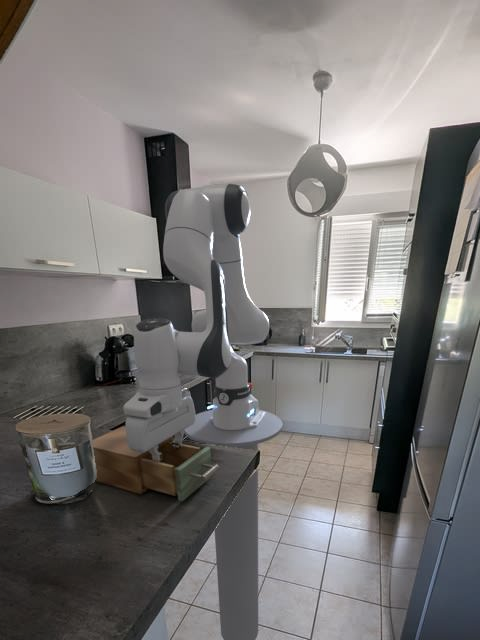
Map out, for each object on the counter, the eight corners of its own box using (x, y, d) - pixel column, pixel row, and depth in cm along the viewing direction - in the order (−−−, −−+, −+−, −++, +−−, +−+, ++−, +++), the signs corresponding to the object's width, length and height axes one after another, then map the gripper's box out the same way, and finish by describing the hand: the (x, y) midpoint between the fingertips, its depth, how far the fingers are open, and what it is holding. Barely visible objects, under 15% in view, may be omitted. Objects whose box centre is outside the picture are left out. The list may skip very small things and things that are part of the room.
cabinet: (176, 469, 93) (173, 435, 90) (141, 494, 82) (135, 457, 78) (128, 457, 100) (123, 425, 96) (90, 479, 89) (82, 444, 85)
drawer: (226, 479, 86) (225, 450, 83) (198, 506, 76) (196, 474, 73) (162, 464, 94) (158, 437, 91) (128, 485, 84) (123, 456, 81)
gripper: (178, 384, 88) (183, 436, 93) (116, 409, 71) (127, 470, 76) (199, 387, 85) (203, 440, 90) (141, 413, 68) (150, 476, 74)
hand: (168, 454), depth 83 cm, fingers open, 6 cm apart
